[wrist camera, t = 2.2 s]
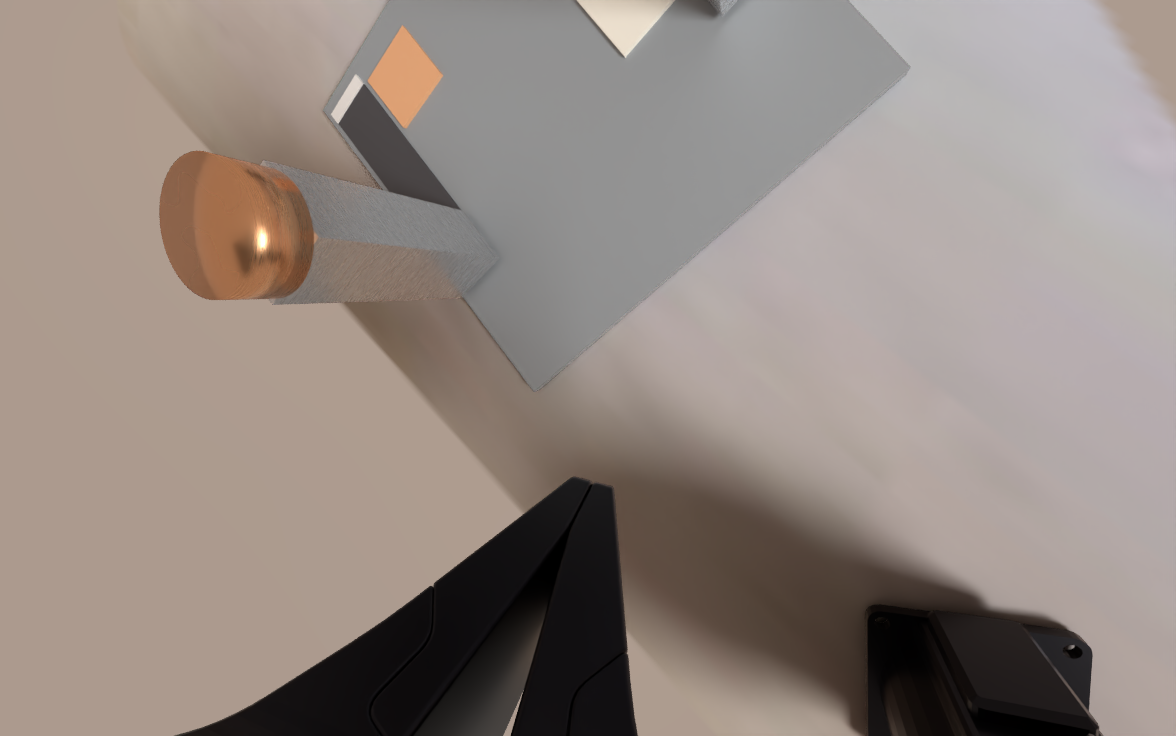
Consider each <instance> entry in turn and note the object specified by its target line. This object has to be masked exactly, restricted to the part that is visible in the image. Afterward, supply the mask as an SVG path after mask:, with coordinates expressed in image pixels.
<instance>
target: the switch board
mask: <svg viewBox="0 0 1176 736" xmlns="http://www.w3.org/2000/svg"><path fill="white" fill-rule="evenodd" d="M909 69H910V66H909V65H908V64H907V63H906V61H905V60H904V59H903V58H902V57H901V56H900V55H899V54H898V53H897V52H896V51H895V50H894V49H893V48H892V47H891V45H890V44H889V43H888V42H887V41H886V40H885V39H884V38H883V37H882V36H881V35H880V34H879V33H878V32H877V30H876V29H875V28H874V27H873V26H872V25H871V24H870V23H869V22H868V21H867V20H866V19H865V18H864V17H863V16H862V14H861V13H860V12H859V11H858V10H857V9H856V8H855V7H854V6H853V5H852V4H851V3H850V2H849V1H848V0H738V1H737V2H736V3H735V4H734V5H733V6H732V7H731V8H730V10H729V11H728V12H727V13H726V14H725V15H724V16H723V17H722V16H721V15H720V14H719V13H718V12H717V11H716V10H715V8H714V7H713V6H712V5H711V4H710V3H709V2H708V1H707V0H389V1H388V3H387V5H386V6H385V8H384V10H383V11H382V13H381V15H380V16H379V18H378V20H377V21H376V23H375V25H374V26H373V28H372V30H371V31H370V33H369V35H368V36H367V38H366V40H365V41H364V43H363V45H362V46H361V48H360V50H359V51H358V53H357V55H356V56H355V58H354V60H353V61H352V63H351V65H350V66H349V68H348V70H347V71H346V73H345V75H344V76H343V78H342V80H341V81H340V83H339V85H338V86H337V88H336V90H335V91H334V93H333V95H332V96H331V98H330V100H329V101H328V103H327V105H326V106H325V108H324V109H323V111H324V112H325V114H326V115H327V116H328V118H329V119H330V120H331V122H332V123H333V124H334V126H335V127H336V128H337V130H338V131H339V132H340V134H341V135H342V136H343V138H344V139H345V140H346V142H347V143H348V144H349V146H350V147H351V148H352V150H353V151H354V152H355V154H356V155H357V156H358V158H359V159H360V160H361V162H362V163H363V164H364V166H365V167H366V168H367V170H368V171H369V172H370V174H371V175H372V176H373V178H374V179H375V180H376V182H377V183H378V184H379V186H380V187H381V188H382V190H384V191H388V192H392V193H396V194H399V195H403V196H407V197H411V198H415V199H419V200H423V201H427V202H431V203H435V204H439V205H443V206H447V207H451V208H455V209H459V210H462V211H464V212H465V213H466V215H467V216H468V217H469V219H470V220H471V221H472V223H473V224H474V225H475V226H476V228H477V229H478V230H479V232H480V233H481V234H482V236H483V237H484V238H485V239H486V241H487V242H488V243H489V245H490V246H491V247H492V249H493V250H494V251H495V253H496V254H497V255H498V256H499V259H498V260H497V261H496V262H495V263H494V264H493V265H492V266H491V267H490V269H489V270H488V271H487V272H486V273H485V274H484V275H483V276H482V277H481V278H480V279H479V280H478V281H477V283H476V284H475V285H474V286H473V287H472V288H471V289H470V290H469V291H468V292H467V293H466V294H465V296H464V297H463V298H464V299H465V301H466V302H467V303H468V305H469V306H470V307H471V309H472V310H473V311H474V313H475V314H476V315H477V317H478V318H479V319H480V321H481V322H482V323H483V325H484V326H485V327H486V329H487V330H488V331H489V333H490V334H491V335H492V337H493V338H494V339H495V341H496V342H497V343H498V345H499V346H500V347H501V349H502V350H503V352H504V353H505V354H506V356H507V357H508V358H509V360H510V361H511V362H512V364H513V365H514V366H515V368H516V369H517V370H518V372H519V373H520V374H521V376H522V377H523V378H524V380H525V381H526V382H527V384H528V385H529V386H530V388H531V389H532V390H533V392H535V391H538V390H540V389H541V388H542V387H543V386H544V385H546V384H547V383H548V382H549V381H550V380H551V379H553V378H554V377H555V376H556V375H557V374H558V373H560V372H561V371H562V370H563V369H564V368H565V367H567V366H568V365H569V364H570V363H571V362H572V361H574V360H575V359H576V358H577V357H578V356H579V355H581V354H582V353H583V352H584V351H585V350H586V349H588V348H589V347H590V346H591V345H592V344H593V343H594V342H596V341H597V340H598V339H599V338H600V337H601V336H603V335H604V334H605V333H606V332H607V331H608V330H610V329H611V328H612V327H613V326H614V325H615V324H617V323H618V322H619V321H620V320H621V319H622V318H624V317H625V316H626V315H627V314H628V313H629V312H631V311H632V310H633V309H634V308H635V307H636V306H638V305H639V304H640V303H641V302H642V301H643V300H645V299H646V298H647V297H648V296H649V295H650V294H651V293H653V292H654V291H655V290H656V289H657V288H658V287H660V286H661V285H662V284H663V283H664V282H665V281H667V280H668V279H669V278H670V277H671V276H672V275H674V274H675V273H676V272H677V271H678V270H679V269H681V268H682V267H683V266H684V265H685V264H686V263H688V262H689V261H690V260H691V259H692V258H693V257H695V256H696V255H697V254H698V253H699V252H700V251H701V250H703V249H704V248H705V247H706V246H707V245H708V244H710V243H711V242H712V241H713V240H714V239H715V238H717V237H718V236H719V235H720V234H721V233H722V232H724V231H725V230H726V229H727V228H728V227H729V226H731V225H732V224H733V223H734V222H735V221H736V220H738V219H739V218H740V217H741V216H742V215H743V214H745V213H746V212H747V211H748V210H749V209H750V208H751V207H753V206H754V205H755V204H756V203H757V202H758V201H760V200H761V199H762V198H763V197H764V196H765V195H767V194H768V193H769V192H770V191H771V190H772V189H774V188H775V187H776V186H777V185H778V184H779V183H781V182H782V181H783V180H784V179H785V178H786V177H788V176H789V175H790V174H791V173H792V172H793V171H795V170H796V169H797V168H798V167H799V166H800V165H802V164H803V163H804V162H805V161H806V160H807V159H808V158H810V157H811V156H812V155H813V154H814V153H815V152H817V151H818V150H819V149H820V148H821V147H822V146H824V145H825V144H826V143H827V142H828V141H829V140H831V139H832V138H833V137H834V136H835V135H836V134H838V133H839V132H840V131H841V130H842V129H843V128H845V127H846V126H847V125H848V124H849V123H850V122H852V121H853V120H854V119H855V118H856V117H857V116H858V115H860V114H861V113H862V112H863V111H864V110H865V109H867V108H868V107H869V106H870V105H871V104H872V103H874V102H875V101H876V100H877V99H878V98H879V97H881V96H882V95H883V94H884V93H885V92H886V91H888V90H889V89H890V88H891V87H892V86H893V85H895V84H896V83H897V82H898V81H899V80H900V79H902V78H903V77H904V76H905V75H906V73H907V72H908V70H909Z"/></svg>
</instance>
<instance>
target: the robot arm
mask: <svg viewBox="0 0 1176 736" xmlns="http://www.w3.org/2000/svg"><path fill="white" fill-rule="evenodd" d="M878 617H883V618H886V619H887V621H885V622H877V621H876V619H877V618H878ZM865 642H866V736H1103V735H1102V733H1101V732H1100V731H1099V726H1098V723H1097V722H1096V720H1095V719H1094V718H1093V716H1092V715H1091V714H1090V712H1089V698H1090V683H1091V669H1092V650H1091V648H1090V647H1089V646H1088V645H1087V643H1086V642H1085V641H1084V640H1083V639H1082V638H1081V637H1080V636H1079V635H1077V634H1076V633H1074V632H1071V631H1067V630H1061V629H1054V628H1047V627H1039V626H1032V625H1025V624H1020V623H1018V622H1016V621H1010V620H1002V619H995V618H988V617H980V616H973V615H966V614H958V613H951V612H943V611H932V612H930V611H922V610H915V609H908V608H900V607H893V606H886V605H873V606H870V607H869V608H868V609H867V610H866V614H865ZM1067 645H1075V647H1074V648H1073V649H1071V650H1063V648H1064V647H1065V646H1067ZM523 690H524V691H523ZM522 692H523V694H522ZM521 694H522V698H521V702H520V705H519V708H518V712H517V715H516V719H515V722H514V726H513V729H512V733H511V736H638V735H637V729H636V723H635V718H634V708H633V701H632V691H631V683H630V671H629V659H628V655H627V638H626V626H625V614H624V602H623V590H622V578H621V566H620V554H619V542H618V530H617V518H616V506H615V494H614V488H613V487H612V486H610V485H606V484H602V483H598V482H595V483H592V482H591V481H590V480H587V479H583V478H579V477H572V478H570V479H569V480H567V481H566V482H565V483H564V484H562V485H561V486H560V487H558V488H557V489H556V490H554V491H553V492H552V493H551V494H549V495H548V496H547V497H545V498H544V499H543V500H541V501H540V502H539V503H538V504H536V505H535V506H534V507H532V508H531V509H530V510H528V511H527V512H526V513H525V514H523V515H522V516H521V517H519V518H518V519H517V520H516V521H514V522H513V523H512V524H510V525H509V526H508V527H506V528H505V529H504V530H503V531H501V532H500V533H499V534H497V535H496V536H495V537H494V538H492V539H491V540H489V541H488V542H487V543H486V544H484V545H483V546H482V547H480V548H479V549H478V550H476V551H475V552H474V553H473V554H471V555H470V556H469V557H467V558H466V559H465V560H464V561H462V562H461V563H460V564H458V565H457V566H456V567H454V568H453V569H452V570H450V571H449V572H448V573H447V574H445V575H444V576H443V577H441V578H440V579H439V580H437V581H436V582H435V583H434V587H432V586H429V587H428V588H427V589H425V590H424V591H423V592H422V593H420V594H419V595H418V596H416V597H415V598H414V599H413V600H411V601H410V602H408V603H407V604H406V605H404V606H403V607H402V608H400V609H399V610H397V611H396V612H395V613H393V614H392V615H391V616H389V617H388V618H387V619H385V620H384V621H382V622H381V623H379V624H378V625H376V626H375V627H374V628H372V629H370V630H369V631H367V632H366V633H364V634H363V635H361V636H360V637H358V638H357V639H355V640H354V641H352V642H351V643H349V644H348V645H346V646H344V647H343V648H341V649H340V650H338V651H337V652H335V653H333V654H332V655H330V656H329V657H327V658H326V659H324V660H322V661H321V662H319V663H318V664H316V665H315V666H313V667H311V668H310V669H308V670H307V671H305V672H303V673H302V674H301V675H299V676H297V677H296V678H294V679H293V680H291V681H289V682H288V683H286V684H285V685H283V686H282V687H280V688H278V689H277V690H275V691H273V692H272V693H271V694H269V695H267V696H266V697H264V698H262V699H261V700H259V701H257V702H255V703H254V704H252V705H250V706H248V707H247V708H245V709H243V710H241V711H239V712H237V713H235V714H233V715H231V716H229V717H226V718H224V719H222V720H220V721H218V722H215V723H212V724H210V725H208V726H205V727H202V728H199V729H196V730H192V731H189V732H186V733H182V734H179V735H175V736H503V735H504V733H505V730H506V728H507V726H508V724H509V721H510V719H511V717H512V714H513V712H514V710H515V708H516V706H517V703H518V701H519V699H520V696H521Z"/></svg>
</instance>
